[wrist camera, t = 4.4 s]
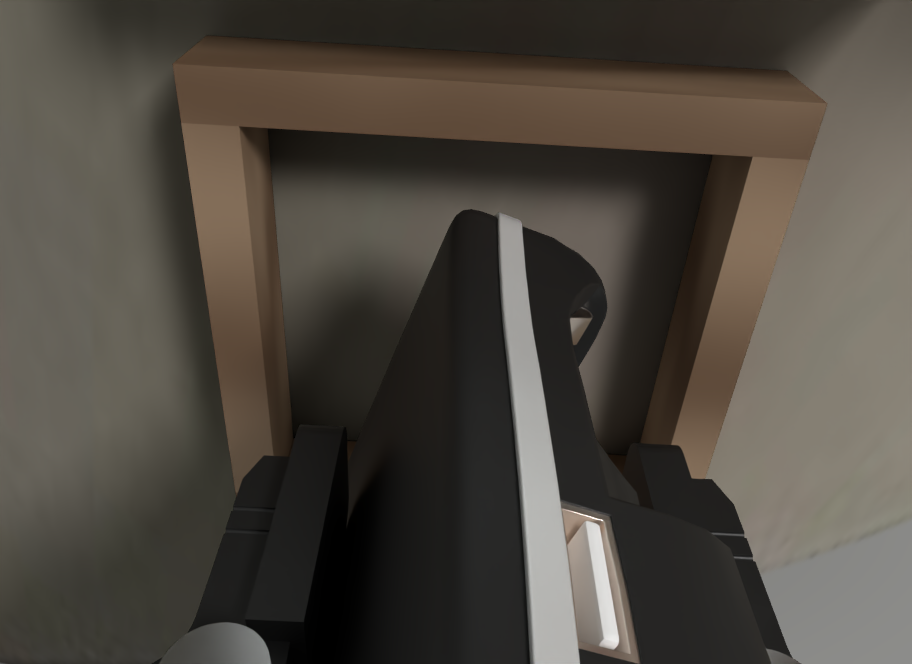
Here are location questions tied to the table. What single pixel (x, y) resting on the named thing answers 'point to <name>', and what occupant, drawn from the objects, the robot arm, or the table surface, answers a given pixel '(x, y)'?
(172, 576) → the table surface
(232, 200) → the brown flat square frame
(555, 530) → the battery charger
